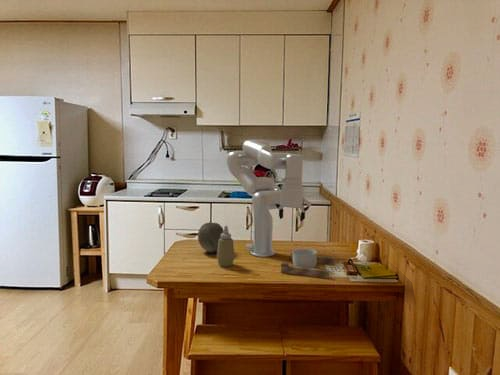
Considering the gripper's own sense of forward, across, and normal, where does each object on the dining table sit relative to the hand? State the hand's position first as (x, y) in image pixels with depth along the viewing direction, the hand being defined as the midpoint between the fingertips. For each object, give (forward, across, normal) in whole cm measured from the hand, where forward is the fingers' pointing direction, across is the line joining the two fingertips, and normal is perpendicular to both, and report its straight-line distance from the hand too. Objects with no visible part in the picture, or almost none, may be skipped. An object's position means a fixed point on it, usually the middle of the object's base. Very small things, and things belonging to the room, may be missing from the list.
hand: (291, 219), depth 175 cm
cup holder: (+21, +9, -2) cm, 23 cm away
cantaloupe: (+22, -42, +3) cm, 48 cm away
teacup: (+21, +7, -2) cm, 22 cm away
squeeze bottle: (+22, -26, -13) cm, 36 cm away
